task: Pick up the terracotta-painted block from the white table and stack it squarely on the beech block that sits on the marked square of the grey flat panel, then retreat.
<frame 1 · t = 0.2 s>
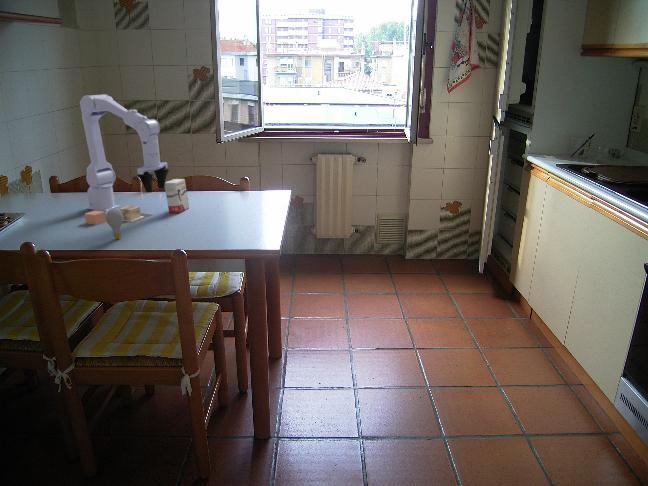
hand: (155, 190, 202), 10 cm above the table, fingers open, 7 cm apart
light bulb: (117, 239, 179), on the table
terracotta block: (96, 223, 197), on the table
grey flat panel: (128, 217, 203), on the table
beech block: (130, 218, 202), resting on grey flat panel
ink box: (179, 210, 212), on the table, touching gripper
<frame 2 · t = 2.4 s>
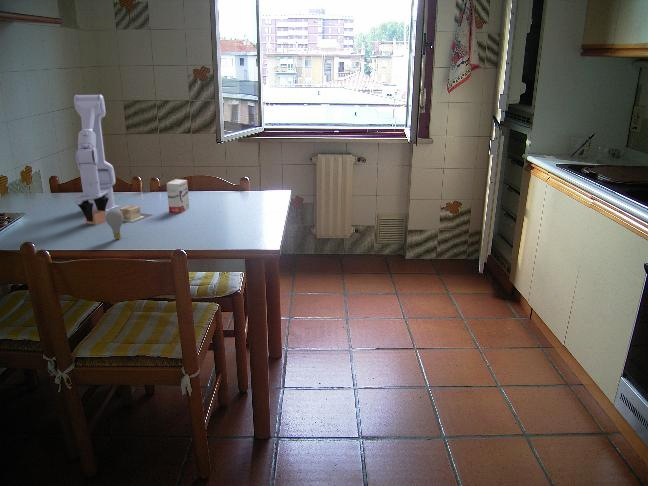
hand: (95, 219, 196), 1 cm above the table, fingers closed on terracotta block, 5 cm apart
terracotta block: (96, 222, 197), on the table, touching gripper
ink box: (179, 211, 212), on the table
everything else where it was.
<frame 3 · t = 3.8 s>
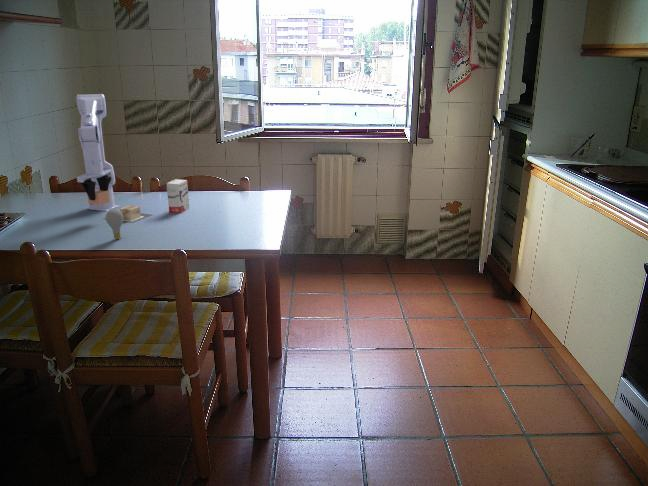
hand: (98, 198, 195), 9 cm above the table, fingers closed on terracotta block, 5 cm apart
terracotta block: (99, 202, 195), point 7 cm above the table, touching gripper
everything else where it was.
when the fingers open (7 cm above the table, at t = 5.3 s): terracotta block stays where it is, resting on beech block.
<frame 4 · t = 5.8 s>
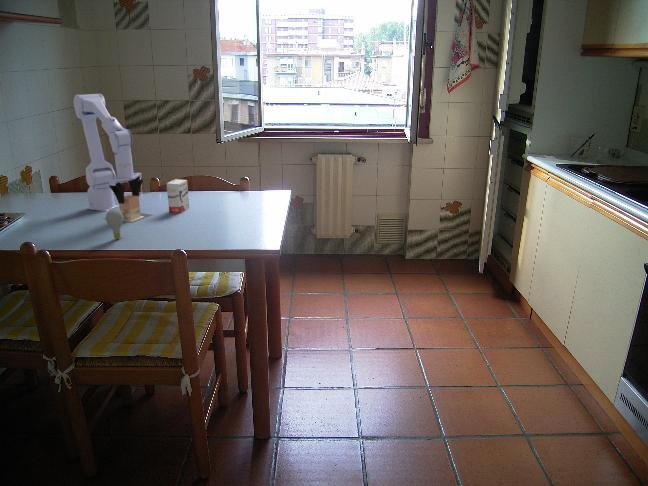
hand: (128, 200, 199), 7 cm above the table, fingers open, 7 cm apart
terracotta block: (129, 207, 200), point 4 cm above the table, touching beech block
beech block: (130, 218, 202), resting on grey flat panel, touching terracotta block
everything else where it was.
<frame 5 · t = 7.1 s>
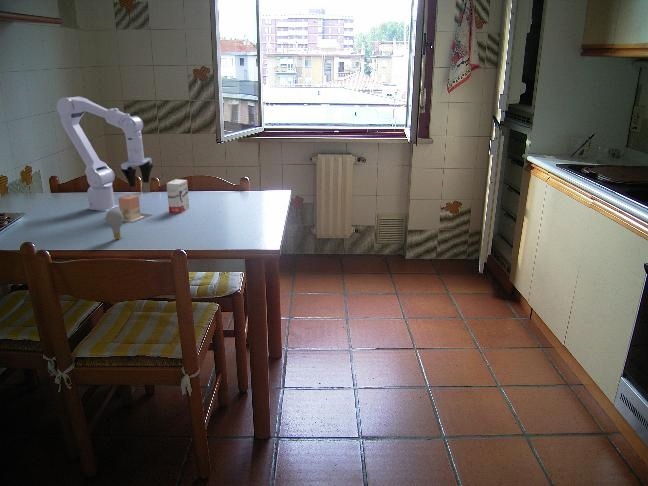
hand: (139, 184, 209), 10 cm above the table, fingers open, 7 cm apart
nothing on the table moved.
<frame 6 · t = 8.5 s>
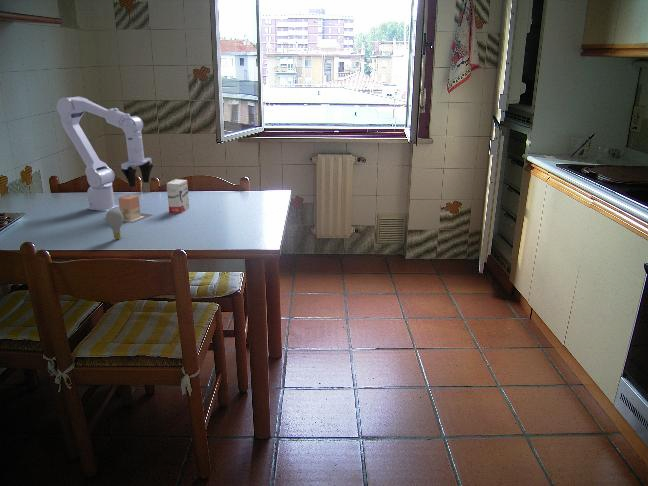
hand: (139, 184, 209), 10 cm above the table, fingers open, 7 cm apart
nothing on the table moved.
at the end: terracotta block 0.1 cm off-centre on the beech block, point 4.0 cm above the beech block's base; terracotta block tilted 0°; beech block moved 0.0 cm from its start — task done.
